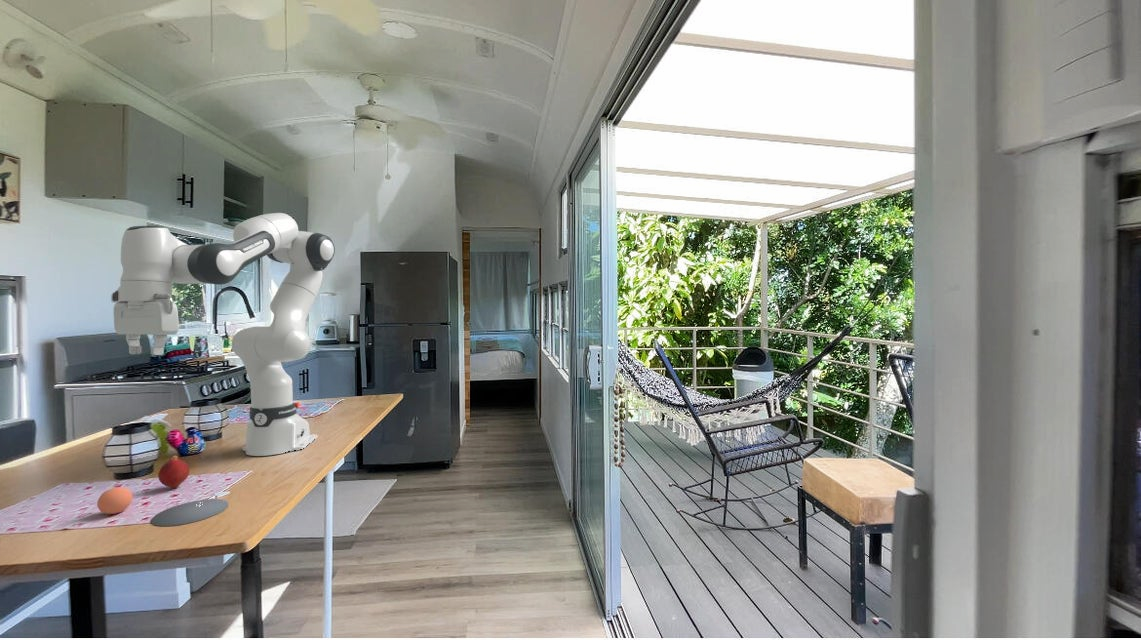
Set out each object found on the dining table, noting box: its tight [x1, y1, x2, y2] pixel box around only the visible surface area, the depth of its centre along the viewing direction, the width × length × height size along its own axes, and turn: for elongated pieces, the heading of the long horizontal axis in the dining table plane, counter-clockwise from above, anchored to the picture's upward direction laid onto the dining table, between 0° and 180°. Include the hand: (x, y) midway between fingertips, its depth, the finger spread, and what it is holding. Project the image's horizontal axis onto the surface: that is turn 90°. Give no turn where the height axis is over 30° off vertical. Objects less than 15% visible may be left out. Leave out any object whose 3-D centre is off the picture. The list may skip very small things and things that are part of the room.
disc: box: [151, 498, 229, 527], centre depth 101 cm, size 13×13×1 cm
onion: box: [158, 455, 190, 489], centre depth 115 cm, size 6×6×8 cm
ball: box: [97, 486, 133, 515], centre depth 101 cm, size 6×6×6 cm
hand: (146, 354), depth 107 cm, fingers open, 8 cm apart
